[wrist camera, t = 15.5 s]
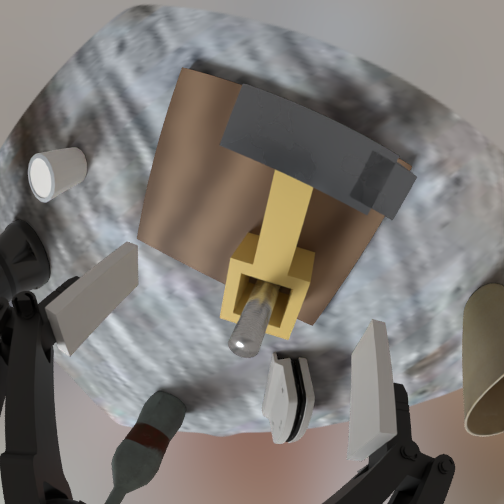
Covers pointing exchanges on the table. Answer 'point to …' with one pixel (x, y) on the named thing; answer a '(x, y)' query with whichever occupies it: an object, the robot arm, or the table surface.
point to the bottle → (145, 444)
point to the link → (274, 257)
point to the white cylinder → (56, 172)
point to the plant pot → (484, 361)
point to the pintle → (254, 320)
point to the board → (235, 197)
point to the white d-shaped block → (288, 399)
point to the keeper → (317, 152)
